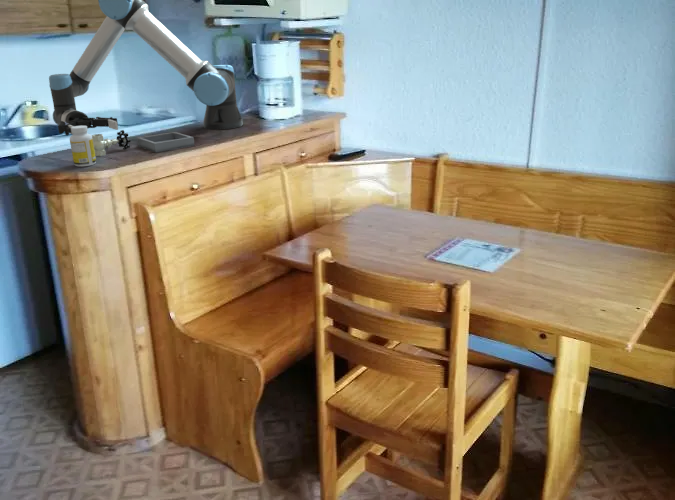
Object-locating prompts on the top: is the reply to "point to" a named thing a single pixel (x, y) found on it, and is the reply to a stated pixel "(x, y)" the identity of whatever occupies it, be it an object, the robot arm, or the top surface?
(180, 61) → the robot arm
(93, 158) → the pill bottle
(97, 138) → the valve
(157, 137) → the parts tray
